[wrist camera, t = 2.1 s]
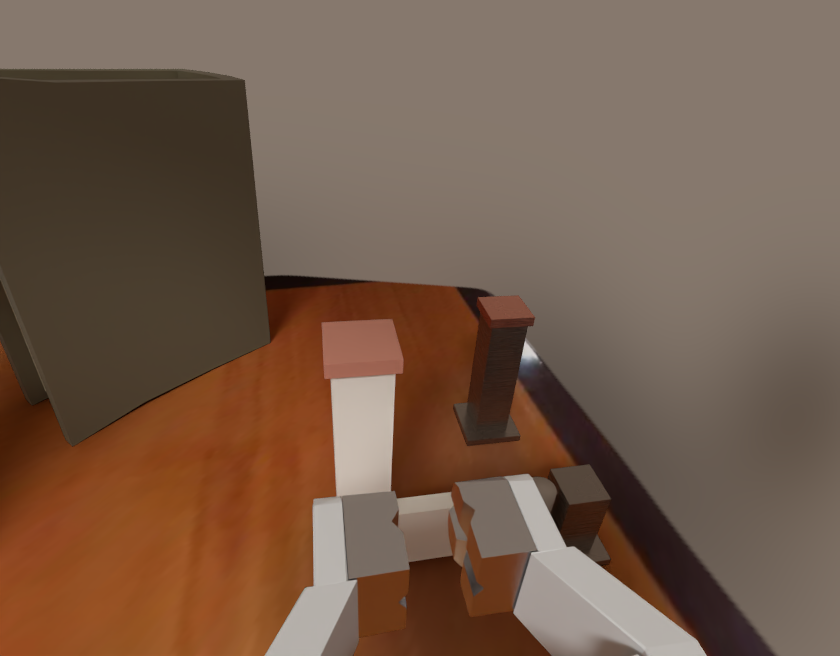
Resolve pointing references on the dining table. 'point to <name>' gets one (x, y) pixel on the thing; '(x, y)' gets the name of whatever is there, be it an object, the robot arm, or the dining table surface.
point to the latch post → (494, 371)
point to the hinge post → (580, 509)
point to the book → (125, 236)
